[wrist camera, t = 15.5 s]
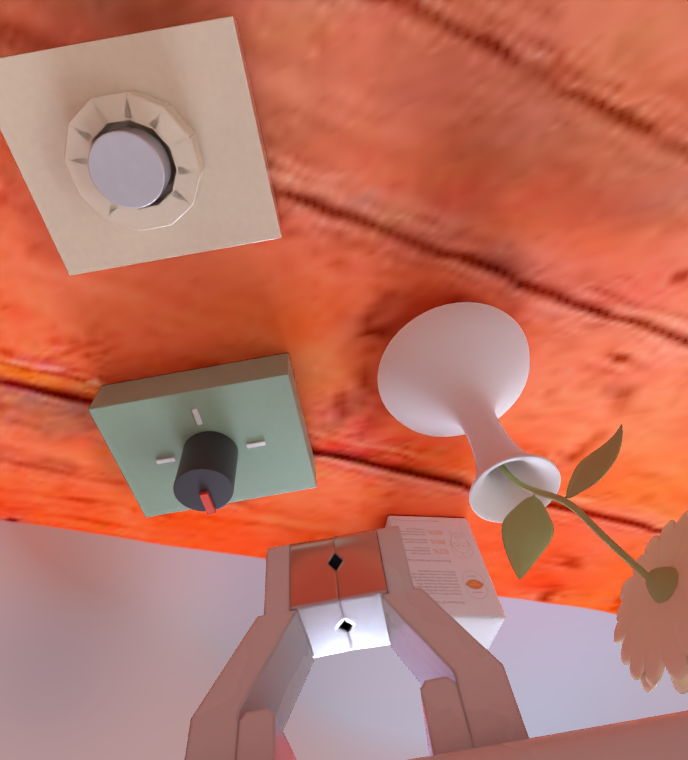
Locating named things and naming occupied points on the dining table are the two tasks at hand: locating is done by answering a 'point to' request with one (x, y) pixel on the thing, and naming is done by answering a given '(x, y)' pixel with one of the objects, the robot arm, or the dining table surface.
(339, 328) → the dining table surface
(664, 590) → the flower in vase
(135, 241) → the button base
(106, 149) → the grey round knob
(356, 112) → the dining table surface
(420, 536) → the small box
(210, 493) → the dial
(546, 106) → the dining table surface
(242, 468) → the dial console
